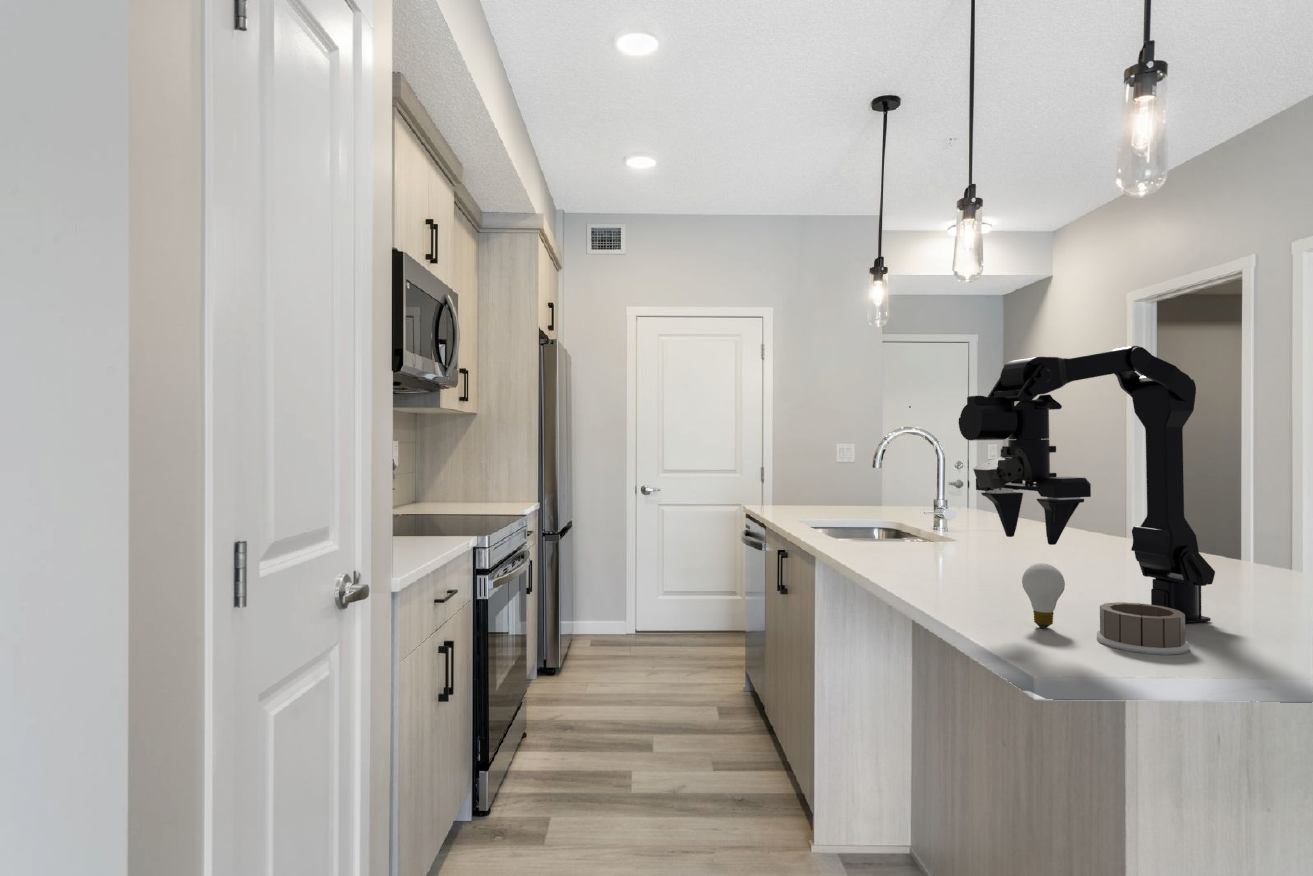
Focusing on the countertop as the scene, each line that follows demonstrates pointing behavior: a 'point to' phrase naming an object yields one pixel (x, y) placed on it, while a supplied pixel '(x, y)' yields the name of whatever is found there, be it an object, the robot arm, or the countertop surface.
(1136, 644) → the socket
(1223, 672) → the countertop surface
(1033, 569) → the light bulb
